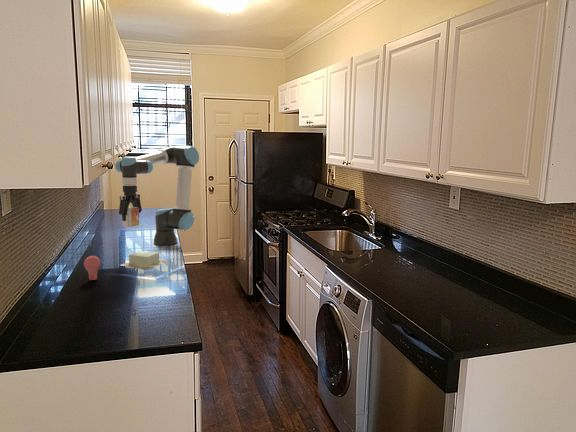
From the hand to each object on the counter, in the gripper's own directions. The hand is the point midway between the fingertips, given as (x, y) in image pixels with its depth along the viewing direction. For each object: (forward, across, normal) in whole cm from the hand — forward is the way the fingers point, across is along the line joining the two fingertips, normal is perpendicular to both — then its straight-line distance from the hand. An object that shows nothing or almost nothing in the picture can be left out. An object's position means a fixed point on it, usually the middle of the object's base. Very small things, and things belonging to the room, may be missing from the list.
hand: (131, 225), depth 245 cm
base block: (+19, +7, +14) cm, 24 cm away
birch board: (+20, +7, +14) cm, 25 cm away
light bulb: (+20, +39, +10) cm, 45 cm away
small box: (+1, 0, 0) cm, 1 cm away
